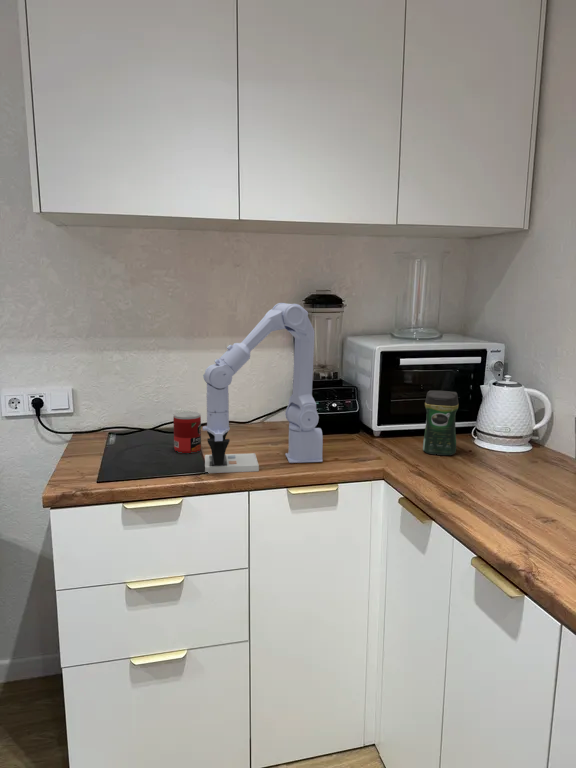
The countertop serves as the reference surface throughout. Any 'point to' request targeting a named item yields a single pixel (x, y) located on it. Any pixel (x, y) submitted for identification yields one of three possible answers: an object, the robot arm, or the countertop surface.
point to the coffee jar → (440, 422)
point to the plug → (218, 465)
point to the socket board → (233, 463)
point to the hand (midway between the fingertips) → (218, 460)
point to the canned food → (187, 431)
